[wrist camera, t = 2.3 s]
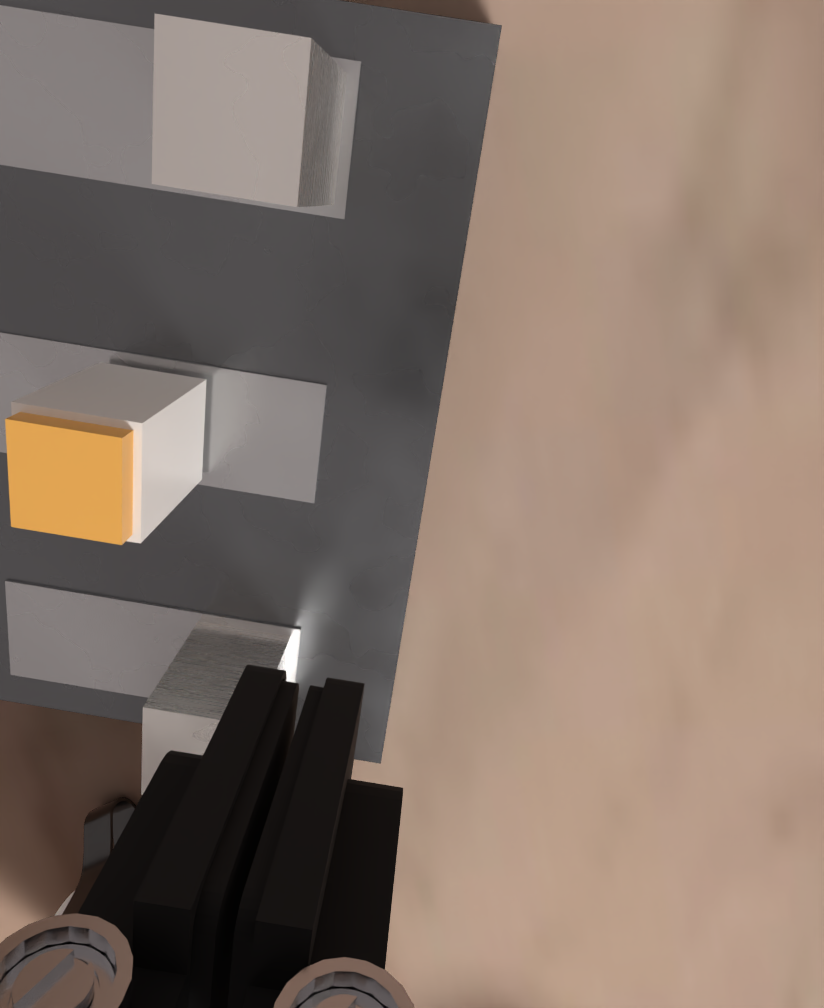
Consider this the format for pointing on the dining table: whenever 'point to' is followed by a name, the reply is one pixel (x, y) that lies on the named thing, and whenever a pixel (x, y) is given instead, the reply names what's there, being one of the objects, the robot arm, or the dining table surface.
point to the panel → (235, 332)
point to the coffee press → (98, 847)
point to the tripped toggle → (105, 452)
